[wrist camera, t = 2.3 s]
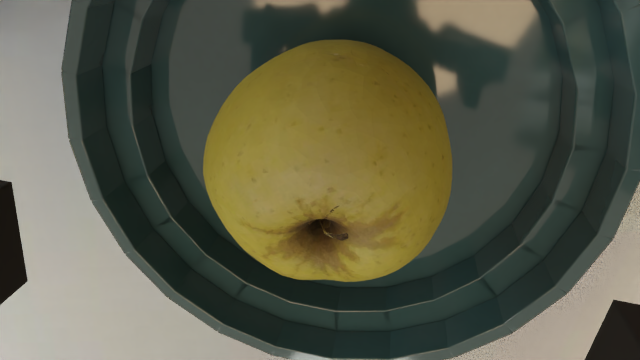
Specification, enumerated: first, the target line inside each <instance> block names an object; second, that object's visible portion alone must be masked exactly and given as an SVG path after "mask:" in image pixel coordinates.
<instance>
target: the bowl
mask: <svg viewBox="0 0 640 360" xmlns="http://www.w3.org/2000/svg"><path fill="white" fill-rule="evenodd" d="M320 40H352V41H359V42H364V43H368V44H371V45H374V46H376V47H379V48H381V49H383V50H384V51H386V52H388V53H390V54H392V55H393V56H395V57H397V58H398V59H400V60H401V61H403V62H404V63H406V64H407V65H409V66H410V67H411V68H412V69H413V70H414V71H415V72H416V73H417V74H418V75H419V76H420V77H421V78H422V79H423V80H424V82H425V83H426V84H427V85H428V86H429V88H430V89H431V91H432V92H433V94H434V96H435V97H436V99H437V101H438V103H439V105H440V107H441V110H442V112H443V115H444V118H445V122H446V126H447V131H448V136H449V141H450V147H451V154H452V184H451V192H450V197H449V201H448V205H447V208H446V211H445V213H444V216H443V218H442V220H441V222H440V224H439V226H438V228H437V229H436V231H435V233H434V235H433V236H432V238H431V240H430V241H429V243H428V244H427V245H426V246H425V248H424V249H423V250H422V251H421V253H420V254H418V255H417V256H416V257H415V258H414V259H413V260H411V261H410V262H409V263H407V264H406V265H405V266H403V267H402V268H400V269H399V270H397V271H395V272H392V273H390V274H388V275H386V276H382V277H379V278H375V279H370V280H365V281H357V282H343V281H335V280H326V279H322V280H297V279H293V278H290V277H286V276H282V275H280V274H279V273H277V272H275V271H273V270H271V269H269V268H268V267H266V266H265V265H263V264H262V263H261V262H259V261H258V260H256V259H255V258H254V257H252V256H251V255H250V254H248V253H247V252H246V251H245V250H244V249H243V248H242V247H241V246H240V245H239V244H238V243H237V242H236V240H235V239H234V238H233V237H232V235H231V234H230V233H229V232H228V230H227V229H226V228H225V226H224V224H223V223H222V221H221V219H220V218H219V216H218V214H217V213H216V211H215V209H214V207H213V205H212V203H211V200H210V198H209V195H208V192H207V189H206V185H205V180H204V176H203V158H204V151H205V145H206V141H207V137H208V134H209V132H210V129H211V127H212V124H213V122H214V120H215V118H216V116H217V114H218V112H219V110H220V109H221V107H222V105H223V104H224V102H225V101H226V99H227V98H228V96H229V95H230V94H231V93H232V91H233V90H234V89H235V87H236V86H237V85H238V84H239V83H240V82H241V81H242V80H243V79H244V78H245V77H247V76H248V75H249V74H250V73H252V72H253V71H254V70H256V69H257V68H258V67H260V66H261V65H263V64H265V63H266V62H268V61H269V60H271V59H272V58H274V57H276V56H278V55H280V54H282V53H284V52H286V51H288V50H291V49H293V48H295V47H298V46H300V45H303V44H306V43H309V42H314V41H320ZM62 82H63V92H64V101H65V110H66V119H67V128H68V138H69V139H70V140H69V142H70V144H71V147H72V150H73V153H74V155H75V158H76V161H77V164H78V166H79V169H80V172H81V175H82V177H83V180H84V183H85V186H86V189H87V191H88V194H89V197H90V200H92V203H93V205H94V206H95V208H96V210H97V211H98V213H99V214H100V216H101V217H102V219H103V221H104V222H105V224H106V225H107V227H108V228H109V230H110V232H111V233H112V235H113V236H114V238H115V239H116V241H117V242H118V244H119V246H120V247H121V249H122V250H123V252H124V253H125V254H126V256H127V257H128V258H129V259H130V260H131V261H132V262H133V263H134V264H135V265H136V266H137V267H138V268H139V269H140V270H141V271H142V272H143V273H144V274H145V275H146V276H147V277H148V278H149V279H150V280H151V281H152V282H153V283H154V284H155V285H156V286H157V287H158V288H159V289H160V291H161V292H162V293H163V294H164V295H165V296H166V297H169V299H170V300H172V301H173V302H175V303H176V304H178V305H179V306H181V307H182V308H183V309H185V310H186V311H188V312H189V313H191V314H192V315H194V316H195V317H197V318H198V319H200V320H201V321H203V322H204V323H206V324H207V325H209V326H210V327H211V328H213V329H214V330H216V331H218V332H219V333H221V334H224V335H226V336H228V337H231V338H233V339H235V340H238V341H240V342H242V343H245V344H247V345H249V346H252V347H254V348H256V349H259V350H261V351H263V352H266V353H268V354H270V355H273V356H277V357H282V358H286V359H291V360H445V359H450V358H453V357H457V356H459V355H462V354H464V353H467V352H469V351H471V350H474V349H476V348H479V347H481V346H483V345H486V344H488V343H490V342H493V341H495V340H498V339H500V338H502V337H505V336H507V335H510V334H512V333H513V332H515V331H516V330H518V329H519V328H520V327H522V326H523V325H525V324H526V323H527V322H529V321H530V320H532V319H533V318H534V317H536V316H537V315H538V314H540V313H541V312H543V311H544V310H545V309H547V308H548V307H550V306H551V305H552V304H554V303H555V302H556V301H558V300H559V299H561V298H562V297H563V296H565V295H566V294H567V293H568V292H569V291H570V290H571V289H572V288H573V287H574V285H575V284H576V283H577V282H578V281H579V279H580V278H581V277H582V276H583V275H584V274H585V272H586V271H587V270H588V269H589V268H590V266H591V265H592V264H593V263H594V262H595V260H596V259H597V258H598V257H599V256H600V254H601V253H602V252H603V251H604V250H605V249H606V247H607V246H608V245H609V244H610V243H611V241H612V240H613V239H612V238H614V236H615V234H616V232H617V230H618V228H619V226H620V223H621V221H622V219H623V217H624V215H625V212H626V210H627V208H628V206H629V204H630V202H631V199H632V197H633V195H634V193H635V191H636V188H637V186H638V184H639V182H640V0H72V3H71V10H70V16H69V23H68V29H67V36H66V42H65V49H64V56H63V62H62Z"/></svg>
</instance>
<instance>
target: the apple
mask: <svg viewBox="0 0 640 360" xmlns="http://www.w3.org/2000/svg"><path fill="white" fill-rule="evenodd" d="M203 176H204V180H205V185H206V189H207V192H208V195H209V198H210V200H211V203H212V205H213V207H214V209H215V211H216V213H217V214H218V216H219V218H220V219H221V221H222V223H223V224H224V226H225V228H226V229H227V230H228V232H229V233H230V234H231V235H232V237H233V238H234V239H235V240H236V242H237V243H238V244H239V245H240V246H241V247H242V248H243V249H244V250H245V251H246V252H247V253H248V254H250V255H251V256H252V257H254V258H255V259H256V260H258V261H259V262H261V263H262V264H263V265H265V266H266V267H268V268H269V269H271V270H273V271H275V272H277V273H279V274H280V275H282V276H286V277H290V278H293V279H297V280H322V279H326V280H335V281H343V282H357V281H365V280H370V279H375V278H379V277H382V276H386V275H388V274H390V273H392V272H395V271H397V270H399V269H400V268H402V267H403V266H405V265H406V264H407V263H409V262H410V261H411V260H413V259H414V258H415V257H416V256H417V255H418V254H420V253H421V251H422V250H423V249H424V248H425V246H426V245H427V244H428V243H429V241H430V240H431V238H432V236H433V235H434V233H435V231H436V229H437V228H438V226H439V224H440V222H441V220H442V218H443V216H444V213H445V211H446V208H447V205H448V201H449V197H450V192H451V184H452V154H451V147H450V141H449V136H448V131H447V126H446V122H445V118H444V115H443V112H442V110H441V107H440V105H439V103H438V101H437V99H436V97H435V96H434V94H433V92H432V91H431V89H430V88H429V86H428V85H427V84H426V83H425V82H424V80H423V79H422V78H421V77H420V76H419V75H418V74H417V73H416V72H415V71H414V70H413V69H412V68H411V67H410V66H409V65H407V64H406V63H404V62H403V61H401V60H400V59H398V58H397V57H395V56H393V55H392V54H390V53H388V52H386V51H384V50H383V49H381V48H379V47H376V46H374V45H371V44H368V43H364V42H359V41H352V40H320V41H314V42H309V43H306V44H303V45H300V46H298V47H295V48H293V49H291V50H288V51H286V52H284V53H282V54H280V55H278V56H276V57H274V58H272V59H271V60H269V61H268V62H266V63H265V64H263V65H261V66H260V67H258V68H257V69H256V70H254V71H253V72H252V73H250V74H249V75H248V76H247V77H245V78H244V79H243V80H242V81H241V82H240V83H239V84H238V85H237V86H236V87H235V89H234V90H233V91H232V93H231V94H230V95H229V96H228V98H227V99H226V101H225V102H224V104H223V105H222V107H221V109H220V110H219V112H218V114H217V116H216V118H215V120H214V122H213V124H212V127H211V129H210V132H209V134H208V137H207V141H206V145H205V151H204V158H203Z"/></svg>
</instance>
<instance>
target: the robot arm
mask: <svg viewBox="0 0 640 360" xmlns="http://www.w3.org/2000/svg"><path fill="white" fill-rule="evenodd" d="M26 282H27V275H26V269H25V263H24V257H23V250H22V244H21V238H20V232H19V226H18V219H17V213H16V207H15V201H14V195H13V189H12V182H7V181H2V180H0V304H1V303H3V302H4V301H5V300H6V299H7V298H8V297H10V296H11V295H12V294H13V293H14V292H15V291H17V290H18V289H19V288H20V287H21V286H22V285H23V284H25V283H26ZM585 360H640V305H638V304H632V303H627V302H622V301H617V300H613V302H612V304H611V306H610V308H609V310H608V313H607V315H606V317H605V319H604V321H603V323H602V325H601V327H600V329H599V331H598V333H597V335H596V337H595V340H594V342H593V344H592V346H591V348H590V350H589V352H588V354H587V356H586V358H585Z"/></svg>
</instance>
